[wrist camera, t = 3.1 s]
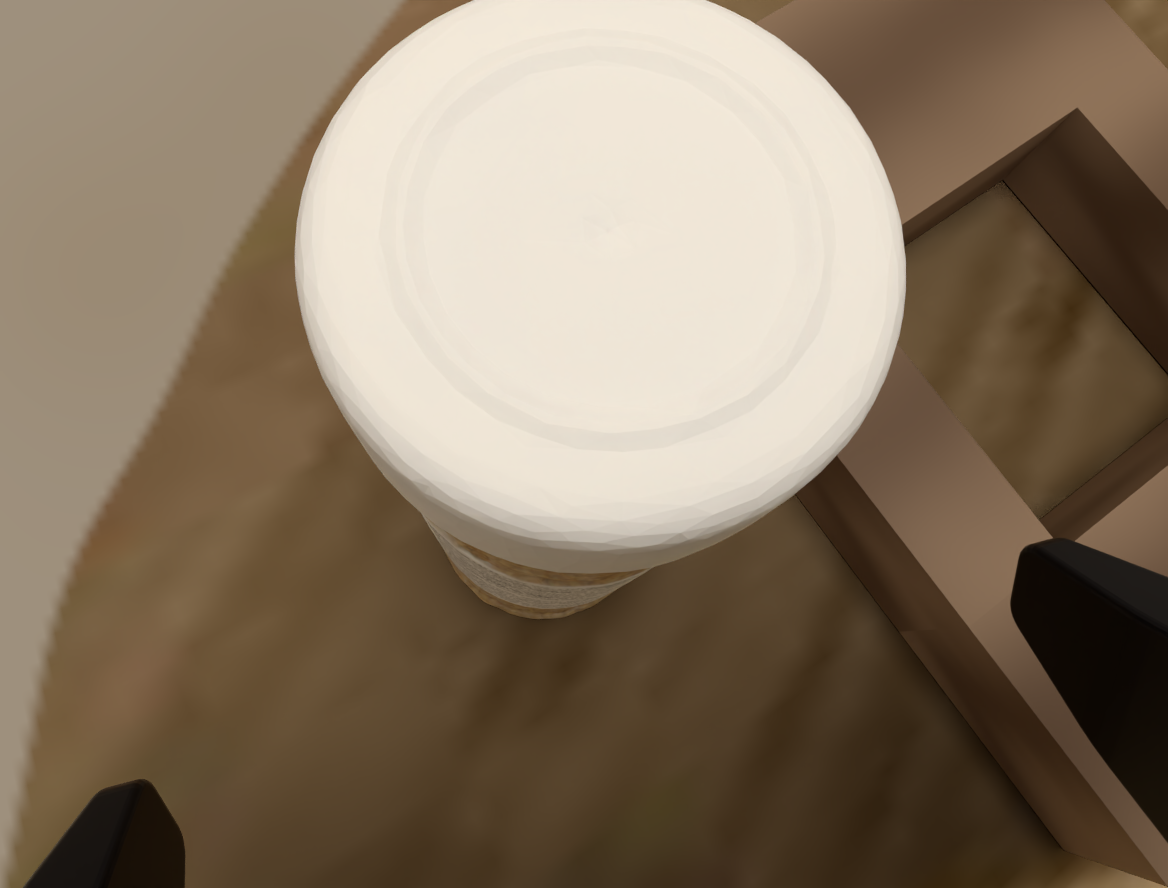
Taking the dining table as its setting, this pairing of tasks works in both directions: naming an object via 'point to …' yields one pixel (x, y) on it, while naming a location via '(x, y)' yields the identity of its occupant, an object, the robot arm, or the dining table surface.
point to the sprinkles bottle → (596, 284)
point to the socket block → (922, 419)
